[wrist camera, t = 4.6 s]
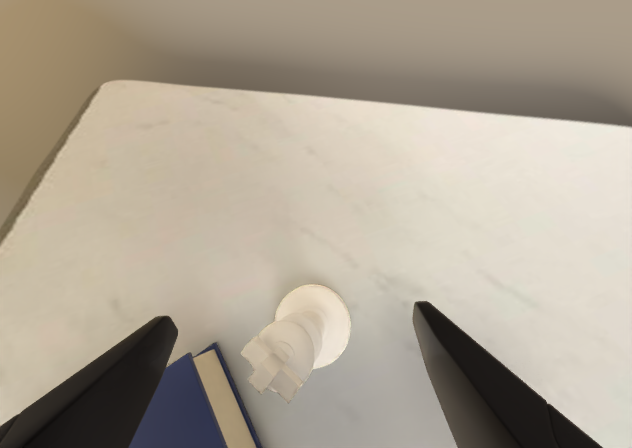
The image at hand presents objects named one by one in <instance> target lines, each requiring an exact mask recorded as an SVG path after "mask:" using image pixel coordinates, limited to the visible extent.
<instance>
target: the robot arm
mask: <svg viewBox="0 0 632 448" xmlns="http://www.w3.org/2000/svg"><path fill="white" fill-rule="evenodd" d="M413 325H414V329H415V332H416V335H417V339H418V342H419V346H420V349H421V353H422V356H423V359H424V363H425V366H426V369H427V372H428V375H429V378H430V380H431V383H432V385H433V388H434V390H435V393H436V395H437V398H438V400H439V403H440V405H441V408H442V410H443V412H444V415H445V417H446V420H447V422H448V425H449V427H450V430H451V432H452V435H453V437H454V440H455V442H456V445H457V447H458V448H603V447H602V446H600V445H599V444H598V443H597V442H595V441H594V440H593V439H592V438H591V437H589V436H588V435H587V434H586V433H584V432H583V431H582V430H581V429H580V428H578V427H577V426H576V425H575V424H573V423H572V422H571V421H570V420H569V419H567V418H566V417H565V416H564V415H563V414H561V413H560V412H559V411H558V410H557V409H555V408H554V407H553V406H552V405H551V404H547V402H546V400H545V399H543V398H542V397H541V396H540V395H539V394H537V393H536V392H535V391H534V390H533V389H532V388H530V387H529V386H528V385H527V384H526V383H524V382H523V381H522V380H521V379H520V378H518V377H517V376H516V375H515V374H514V373H513V372H511V371H510V370H509V369H508V368H507V367H505V366H504V365H503V364H502V363H501V362H499V361H498V360H497V359H496V358H495V357H493V356H492V355H491V354H490V353H489V352H488V351H486V350H485V349H484V348H483V347H482V346H480V345H479V344H478V343H477V342H476V341H474V340H473V339H472V338H471V337H470V336H469V335H467V334H466V333H465V332H464V331H463V330H461V329H460V328H459V327H458V326H457V325H455V324H454V323H453V322H452V321H451V320H450V319H448V318H447V317H446V316H445V315H444V314H442V313H441V312H440V311H439V310H438V309H436V308H435V307H434V306H433V305H432V304H431V303H429V302H427V301H418V302H415V304H414V310H413ZM177 336H178V329H177V327H176V326H175V324H174V322H173V321H172V319H171V318H170V317H169V316H158V317H155V318H154V319H152V320H151V321H149V322H148V323H147V324H145V325H144V326H142V327H141V328H139V329H138V330H137V331H135V332H134V333H132V334H131V335H130V336H128V337H127V338H125V339H124V340H122V341H121V342H120V343H118V344H117V345H115V346H114V347H112V348H111V349H110V350H108V351H107V352H105V353H104V354H103V355H101V356H100V357H98V358H97V359H95V360H94V361H93V362H91V363H90V364H88V365H87V366H86V367H84V368H83V369H81V370H80V371H78V372H77V373H76V374H74V375H73V376H71V377H70V378H68V379H67V380H66V381H64V382H63V383H61V384H60V385H59V386H57V387H56V388H54V389H53V390H51V391H50V392H49V393H47V394H46V395H44V396H43V397H42V398H40V399H39V400H37V401H36V402H34V403H33V404H32V405H30V406H29V407H27V408H26V409H24V410H23V411H22V412H21V413H20V414H18V415H16V416H14V417H13V418H12V419H10V420H9V421H7V422H6V423H5V424H3V425H2V426H0V448H129V446H130V444H131V442H132V440H133V438H134V435H135V433H136V431H137V429H138V427H139V425H140V423H141V421H142V419H143V417H144V415H145V412H146V410H147V408H148V406H149V404H150V402H151V400H152V398H153V396H154V394H155V391H156V389H157V387H158V385H159V383H160V381H161V378H162V376H163V373H164V371H165V368H166V365H167V363H168V360H169V358H170V355H171V352H172V350H173V347H174V344H175V342H176V339H177Z"/></svg>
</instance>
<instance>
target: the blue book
mask: <svg viewBox="0 0 632 448" xmlns="http://www.w3.org/2000/svg"><path fill="white" fill-rule="evenodd" d="M129 448H262V446H261V443H260V441H259V439H258V436H257V434H256V432H255V430H254V427H253V425H252V423H251V420H250V418H249V416H248V414H247V411H246V409H245V407H244V404H243V402H242V400H241V397H240V395H239V393H238V391H237V388H236V386H235V384H234V381H233V379H232V377H231V375H230V372H229V370H228V368H227V365H226V363H225V361H224V358H223V356H222V354H221V352H220V349H219V347H218V345H217V343H213V344H212V345H211V346H209V347H208V348H206V349H205V350H203V351H202V352H200V353H199V354H197V355H196V356H194V357H192V355H191V353H187V354H186V355H184V356H183V357H181V358H180V359H178V360H177V361H175V362H174V363H172V364H171V365H169V366H168V367H167V368H165V371H164V373H163V376H162V378H161V381H160V383H159V385H158V387H157V389H156V391H155V394H154V396H153V398H152V400H151V402H150V404H149V406H148V408H147V410H146V412H145V415H144V417H143V419H142V421H141V423H140V425H139V427H138V429H137V431H136V433H135V435H134V438H133V440H132V442H131V444H130V446H129Z"/></svg>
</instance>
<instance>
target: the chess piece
mask: <svg viewBox="0 0 632 448" xmlns="http://www.w3.org/2000/svg"><path fill="white" fill-rule="evenodd" d="M350 332H351V320H350V315H349V311H348V309H347V307H346V305H345V303H344V301H343V300H342V299H341V297H340V296H339V295H338V294H337V293H336V292H334V291H333V290H331V289H330V288H328V287H325V286H322V285H317V284H308V285H303V286H300V287H298V288H296V289H294V290H293V291H291V292H290V293H289V294H288V295H287V296H286V297H285V298H284V299H283V300H282V301H281V303H280V305H279V307H278V309H277V311H276V314H275V319H274V322H273V323H271V324H269V325H268V326H266V327H265V328H264V329H263V330H262V331H261V332H260V333H259V335H258V336H256V337H254V338H252V339H251V340H250V341H249V343H248V344H247V345H246V346H245V348H244V349H243V350H242V351H241V354H242V355H243V356H244V357H245V358H246V359H247V360H248V362H249V363H250V364H251V365H252V367H253V371H254V372H253V373H252V375H251V376H250V377H249V379H248V381H249V382H250V383H251V384H252V385H253V386H254V387H255V388H256V390H257V391H258V392H259V393H260V394H262V393H263V392H264V391H265V389H266V388H267V389H268V390H270V391H273V392H276V393H279V394H280V395H281V396H282V397H283V398H284V399H285V401H286V402H287V403H288V404H289V402H290V401H291V400H292V398H293V397H294V395H295V394H296V393H297V391H298V390H299V388H300V387H301V386H302V385H303V384H304V383H305V382H306V380H307V379H308V378H309V376H310V374H311V372H312V369H316V368H321V367H324V366H327V365H329V364H331V363H332V362H333V361H335V360H336V359H337V358H338V357H339V356H340V355H341V353H342V352H343V351H344V349H345V347H346V345H347V343H348V341H349V337H350Z"/></svg>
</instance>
